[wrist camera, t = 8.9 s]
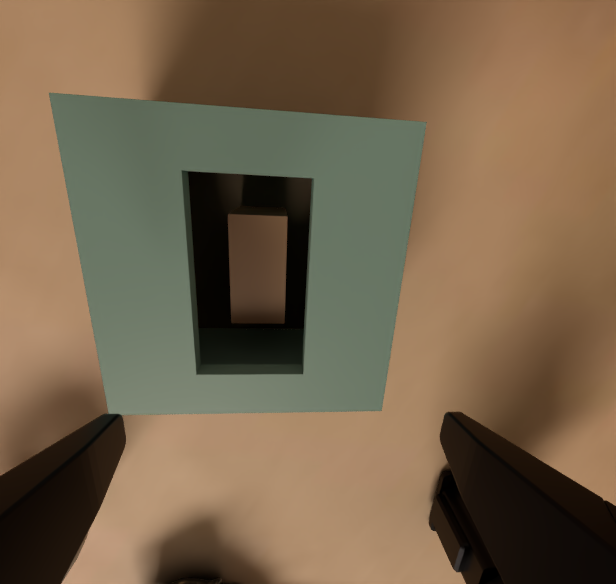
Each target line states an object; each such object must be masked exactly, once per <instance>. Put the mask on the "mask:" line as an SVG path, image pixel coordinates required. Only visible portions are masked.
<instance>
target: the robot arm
mask: <svg viewBox="0 0 616 584" xmlns="http://www.w3.org/2000/svg"><path fill="white" fill-rule="evenodd" d="M440 442H441V445H442V448H443V450H444V453H445V455H446V458H447V461H448V463H449V466H450V468H451V470H447V471H444V472H442V473H441V475H440V479H439V484H438V488H437V492H436V496H435V498H434V502H433V506H432V510H431V514H430V520H429V526H430V528H431V530H433V531H436V532H437V534H438V536H439V539H440V541H441V543H442V545H443V547H444V550H445V552H446V554H447V556H448V559H449V561H450V563H451V565H452V567H453V569H454V570H455V571H456V572H461V574H462V576H463V578H464V580H465V582H466V584H616V506H615V505H613V504H611V503H610V502H608V501H606V500H605V501H604V500H603V499H602V498H601V497H600V496H598V495H596V494H595V493H593V492H592V491H590V490H588V489H587V488H585V487H583V486H582V485H580V484H578V483H577V482H575V481H573V480H572V479H570V478H568V477H567V476H565V475H564V474H562V473H560V472H559V471H557V470H555V469H554V468H552V467H550V466H549V465H547V464H545V463H544V462H542V461H540V460H539V459H537V458H536V457H534V456H532V455H531V454H529V453H527V452H526V451H524V450H522V449H521V448H519V447H517V446H516V445H514V444H513V443H511V442H509V441H508V440H506V439H504V438H503V437H501V436H499V435H498V434H496V433H494V432H493V431H491V430H489V429H488V428H486V427H485V426H483V425H481V424H480V423H478V422H476V421H475V420H473V419H471V418H470V417H468V416H466V415H465V414H463V413H461V412H447V413H446V414H445V415H444V419H443V423H442V427H441V432H440ZM125 444H126V435H125V429H124V422H123V417H122V415H121V414H103V415H101V416H99V417H98V418H96V419H94V420H93V421H91V422H89V423H88V424H86V425H84V426H83V427H81V428H79V429H78V430H76V431H74V432H73V433H71V434H69V435H68V436H66V437H65V438H63V439H61V440H60V441H58V442H56V443H55V444H53V445H51V446H50V447H48V448H46V449H45V450H43V451H41V452H40V453H38V454H36V455H35V456H33V457H31V458H30V459H28V460H26V461H25V462H23V463H21V464H20V465H18V466H16V467H15V468H13V469H11V470H10V471H8V472H6V473H5V474H3V475H1V476H0V584H61V583H62V581H63V579H64V577H65V575H66V573H67V571H68V569H69V567H70V565H71V563H72V561H73V560H74V558H75V556H76V554H77V552H78V550H79V548H80V546H81V544H82V542H83V540H84V538H85V536H86V534H87V533H88V531H89V529H90V527H91V525H92V523H93V521H94V519H95V517H96V515H97V513H98V511H99V509H100V507H101V504H102V502H103V500H104V497H105V495H106V492H107V490H108V487H109V485H110V483H111V480H112V478H113V475H114V473H115V470H116V468H117V465H118V463H119V460H120V458H121V455H122V453H123V450H124V448H125Z"/></svg>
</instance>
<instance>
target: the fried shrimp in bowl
mask: <svg viewBox="0 0 616 584" xmlns="http://www.w3.org/2000/svg"><path fill="white" fill-rule="evenodd" d="M221 581H222V580H221V578H217V579H214V580H211V581H207V580H203V579H198V578H184V579H180V580H177V581H175V582H173V583H172V584H221Z"/></svg>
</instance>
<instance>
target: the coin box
mask: <svg viewBox="0 0 616 584" xmlns="http://www.w3.org/2000/svg"><path fill="white" fill-rule="evenodd" d="M49 97H50V102H51V107H52V113H53V118H54V123H55V129H56V134H57V139H58V145H59V150H60V155H61V161H62V166H63V172H64V177H65V182H66V188H67V193H68V198H69V204H70V209H71V214H72V220H73V225H74V230H75V236H76V241H77V247H78V252H79V257H80V263H81V268H82V273H83V279H84V284H85V289H86V295H87V300H88V306H89V311H90V316H91V322H92V327H93V332H94V338H95V343H96V348H97V354H98V359H99V364H100V370H101V375H102V381H103V386H104V391H105V397H106V402H107V407H108V413H109V414H121V415H159V414H222V413H284V412H347V411H382V405H383V399H384V392H385V386H386V380H387V373H388V367H389V360H390V354H391V347H392V341H393V335H394V328H395V322H396V315H397V309H398V302H399V296H400V290H401V283H402V277H403V270H404V264H405V258H406V251H407V245H408V238H409V232H410V225H411V219H412V213H413V206H414V200H415V193H416V187H417V180H418V174H419V168H420V161H421V155H422V148H423V142H424V136H425V129H426V123H427V122H419V121H406V120H393V119H380V118H367V117H355V116H342V115H329V114H316V113H303V112H290V111H278V110H265V109H252V108H239V107H226V106H213V105H201V104H188V103H175V102H162V101H149V100H136V99H124V98H111V97H98V96H85V95H72V94H59V93H49ZM188 171H193V172H210V173H227V174H245V175H262V176H280V177H297V178H312V187H311V206H310V225H309V244H308V262H307V281H306V300H305V319H304V329H264V328H198V314H197V299H196V284H195V269H194V254H193V239H192V224H191V209H190V194H189V180H188Z"/></svg>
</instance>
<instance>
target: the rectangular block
mask: <svg viewBox="0 0 616 584" xmlns="http://www.w3.org/2000/svg"><path fill="white" fill-rule="evenodd" d="M287 218H288V216H287V213H286V209H285V208H274V207H252V206H240V207H239V208H237V209H235V210H234V211H232V212H230V213H229V214H228V236H229V267H230V298H231V323H285V290H286V254H287Z"/></svg>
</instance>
